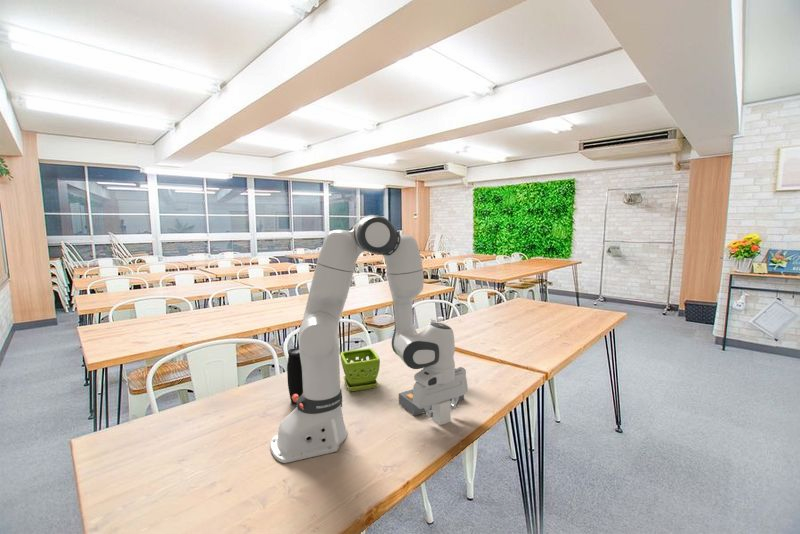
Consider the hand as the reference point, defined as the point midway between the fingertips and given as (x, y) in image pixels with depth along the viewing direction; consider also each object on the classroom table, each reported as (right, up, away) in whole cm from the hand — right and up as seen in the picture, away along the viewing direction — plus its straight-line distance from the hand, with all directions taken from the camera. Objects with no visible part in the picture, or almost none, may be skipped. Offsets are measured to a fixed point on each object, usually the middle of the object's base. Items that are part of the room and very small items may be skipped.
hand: (441, 413), depth 119 cm
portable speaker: (-50, -2, +16) cm, 53 cm away
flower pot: (-30, 0, +28) cm, 41 cm away
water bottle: (+1, +1, +36) cm, 36 cm away
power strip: (-2, -1, +13) cm, 13 cm away
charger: (0, -3, 0) cm, 3 cm away
